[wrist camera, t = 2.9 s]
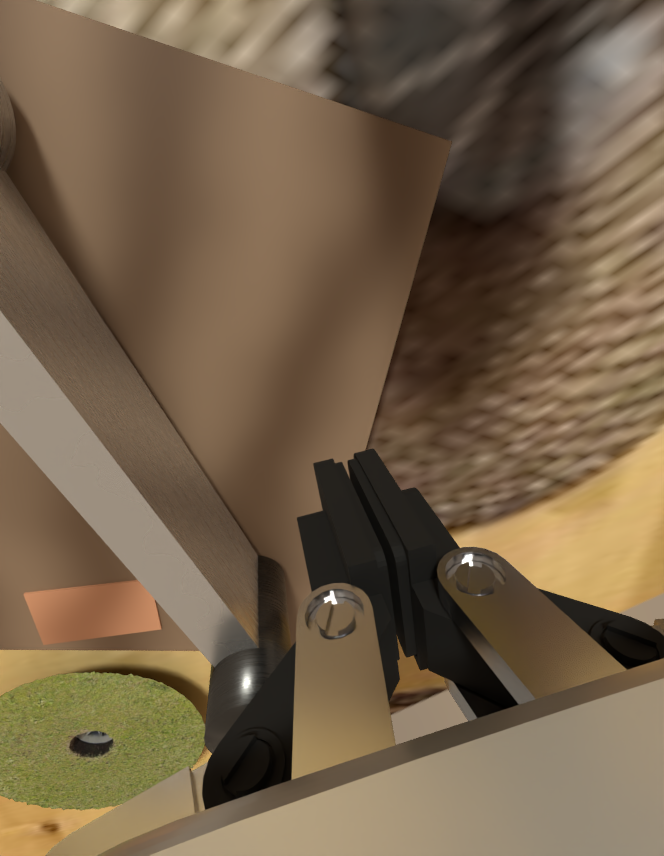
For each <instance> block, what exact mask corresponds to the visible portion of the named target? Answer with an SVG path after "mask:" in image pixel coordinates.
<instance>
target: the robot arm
mask: <svg viewBox="0 0 664 856" xmlns="http://www.w3.org/2000/svg"><path fill="white" fill-rule="evenodd" d="M347 463H348V470H349V476H350V478H349V476H348V474H347V471H346V469H345V467H344V465H343V463H342V462H338V463H335V462H334V460H333V458H332V459H328V460H324V461H320V462H316V463H313V466H314V471H315V476H316V481H317V486H318V490H319V495H320V500H321V505H322V510H323V511H319V512H315V513H312V514H308V515H304V516H300V517H297V522H298V527H299V532H300V537H301V542H302V547H303V552H304V557H305V562H306V566H307V571H308V576H309V581H310V586H311V591H312V592H311V593H310V594H309V595H308V596H307V597H306V598H305V599H304V600H303V602H302V604H301V606H300V607H299V610H298V615H297V624H296V642H295V643H294V644H293V646H292V647H291V648H290V650H289V651H288V652H287V654H286V655H285V656H284V658H283V659H282V660H281V662H280V663H279V664H278V666H277V667H276V668H275V670H274V671H273V672H272V674H271V675H270V676H269V678H268V679H267V680H266V682H265V683H264V684H263V686H262V687H261V688H260V690H259V691H258V692H257V693H256V695H255V696H254V697H253V699H252V700H251V701H250V703H249V704H248V705H247V707H246V708H245V709H244V711H243V712H242V713H241V715H240V716H239V717H238V719H237V720H236V721H235V723H234V724H233V725H232V727H231V728H230V729H229V731H228V732H227V733H226V735H225V736H224V737H223V739H222V740H221V741H220V743H219V744H218V745H217V747H216V749H215V750H214V752H213V754H212V755H211V757H210V759H209V761H208V762H207V763H205V764H204V765H202V766H200V767H199V768H197V769H195V770H193V771H191V769H190V767H189V766H187V767H186V768H184V769H182V770H181V771H179V772H177V773H175V774H174V775H172V776H170V777H168V778H167V779H165V780H163V781H161V782H160V783H158V784H156V785H154V786H153V787H151V788H149V789H148V790H146V791H144V792H142V793H141V794H139V795H137V796H135V797H134V798H132V799H130V800H128V801H127V802H125V803H123V804H122V805H120V806H118V807H116V808H115V809H113V810H111V811H109V812H108V813H106V814H104V815H102V816H101V817H99V818H97V819H95V820H94V821H92V822H90V823H89V824H87V825H85V826H83V827H82V828H80V829H78V830H76V831H75V832H73V833H71V834H69V835H68V836H67V837H66V838H64V839H63V840H62V841H60V842H59V843H58V844H57V845H55V846H54V847H53V848H52V849H51V850H50V851H49V852H48V853H47V854H46V856H664V619H656V620H655V621H654V625H653V626H649V625H648V624H646V623H644V622H642V621H639V620H637V619H634V618H632V617H629V616H626V615H622V614H619V613H616V612H613V611H610V610H606V609H603V608H600V607H596V606H593V605H590V604H587V603H583V602H580V601H577V600H574V599H570V598H567V597H564V596H561V595H557V594H554V593H551V592H548V591H544V590H541V589H538V588H536V587H535V586H534V585H533V584H532V583H531V582H529V581H528V580H527V579H526V578H525V577H524V576H523V575H522V574H521V573H520V572H518V571H517V570H516V569H515V568H514V567H513V566H512V565H511V564H510V563H509V562H507V561H506V560H505V559H504V558H502V557H501V556H499V555H498V554H497V553H494V552H492V551H489V550H487V549H483V548H477V547H462V548H459V546H458V545H457V543H456V542H455V541H454V539H453V538H452V536H451V535H450V534H449V532H448V531H447V530H446V528H445V527H444V525H443V524H442V523H441V521H440V520H439V518H438V517H437V516H436V514H435V513H434V511H433V510H432V509H431V507H430V506H429V505H428V503H427V502H426V500H425V499H424V498H423V496H422V495H421V493H420V492H419V491H418V490H417V489H416V488H410V489H406V490H402V491H401V490H400V488H399V486H398V485H397V483H396V482H395V480H394V479H393V477H392V476H391V474H390V473H389V471H388V470H387V468H386V466H385V465H384V463H383V462H382V460H381V459H380V457H379V456H378V454H377V453H376V451H375V450H374V449H370V450H366V451H361V452H357V453H354V459H351V460H348V461H347ZM396 634H397V635H396ZM397 637H398V639H399V642H400V644H401V647H402V649H403V652H404V654H405V656H406V657H410V656H413V655H414V657H415V659H416V662H417V664H418V666H419V669H420V670H424V669H427V668H428V669H429V670H430V671H432V672H434V673H436V674H438V675H440V676H442V677H444V680H445V683H446V686H447V688H448V690H449V692H450V693H451V695H452V697H453V698H454V700H455V701H456V703H457V704H458V706H459V707H460V709H461V711H462V712H463V714H464V715H465V717H466V718H467V720H468V722H465V723H462V724H459V725H456V726H453V727H450V728H447V729H443V730H440V731H437V732H434V733H432V734H428V735H425V736H423V737H419V738H416V739H413V740H410V741H407V742H404V743H401V744H398V745H396V744H395V738H394V733H393V726H392V721H391V714H390V708H389V700H390V698H391V696H392V694H393V692H394V690H395V688H396V686H397V684H398V682H399V680H400V677H399V670H398V662H397V660H399V659H400V658H399V650H398V642H397Z"/></svg>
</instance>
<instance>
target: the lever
mask: <svg viewBox="0 0 664 856" xmlns="http://www.w3.org/2000/svg"><path fill="white" fill-rule="evenodd" d="M15 144H16V125H15V118H14V113H13V108H12V105H11V102H10V99H9V96H8V94H7V91H6V89H5V87H4V84H3V82H2V81H1V79H0V423H1V424H2V426H3V427H4V428H5V429H6V430H7V431H8V432H9V434H10V435H11V436H12V437H13V438H14V439H15V440H16V442H17V443H18V444H19V445H20V446H21V447H22V448H23V449H24V451H25V452H26V453H27V454H28V455H29V456H30V457H31V459H32V460H33V461H34V462H35V463H36V464H37V465H38V467H39V468H40V469H41V470H42V471H43V472H44V473H45V475H46V476H47V477H48V478H49V479H50V480H51V481H52V483H53V484H54V485H55V486H56V487H57V488H58V489H59V491H60V492H61V493H62V494H63V495H64V496H65V497H66V499H67V500H68V501H69V502H70V503H71V504H72V505H73V507H74V508H75V509H76V510H77V511H78V512H79V513H80V515H81V516H82V517H83V518H84V519H85V520H86V521H87V523H88V524H89V525H90V526H91V527H92V528H93V529H94V531H95V532H96V533H97V534H98V535H99V536H100V537H101V539H102V540H103V541H104V542H105V543H106V544H107V545H108V547H109V548H110V549H111V550H112V551H113V552H114V553H115V555H116V556H117V557H118V558H119V559H120V560H121V561H122V563H123V564H124V565H125V566H126V567H127V568H128V569H129V570H130V572H131V573H132V574H133V575H134V576H135V577H136V578H137V580H138V581H139V582H140V583H141V584H142V585H143V586H144V588H145V589H146V590H147V591H148V592H149V593H150V594H151V596H152V597H153V598H154V599H155V600H156V601H157V602H158V604H159V605H160V606H161V607H162V608H163V609H164V610H165V612H166V613H167V614H168V615H169V616H170V617H171V618H172V620H173V621H174V622H175V623H176V624H177V625H178V626H179V628H180V629H181V630H182V631H183V632H184V633H185V634H186V636H187V637H188V638H189V639H190V640H191V641H192V642H193V644H194V645H195V646H196V647H197V648H198V649H199V650H200V652H201V653H202V654H203V655H204V656H205V657H206V658H207V660H208V661H209V662H210V663H211V664H212V665H211V675H210V685H209V695H208V705H207V715H206V725H205V734H204V742H205V745H206V747H207V749H208V750H209V751H210V752H211V753H212V754H213V752H214V750H215V749H216V747H217V745H218V744H219V743H220V741H221V740H222V739H223V737H224V736H225V735H226V733H227V732H228V731H229V729H230V728H231V727H232V725H233V724H234V723H235V721H236V720H237V719H238V717H239V716H240V715H241V713H242V712H243V711H244V709H245V708H246V707H247V705H248V704H249V703H250V701H251V700H252V699H253V697H254V696H255V695H256V693H257V692H258V691H259V690H260V688H261V687H262V686H263V684H264V683H265V682H266V680H267V679H268V678H269V676H270V675H271V674H272V672H273V671H274V670H275V668H276V667H277V666H278V664H279V663H280V662H281V660H282V659H283V658H284V656H285V655H286V654H287V652H288V651H289V650H290V648H291V638H290V627H289V616H288V605H287V594H286V583H285V574H284V571H283V569H282V567H281V566H280V564H279V563H278V562H276V561H275V560H273V559H271V558H269V557H266V556H261V555H257V553H256V552H255V550H254V549H253V547H252V546H251V544H250V543H249V541H248V540H247V538H246V537H245V535H244V534H243V532H242V530H241V529H240V527H239V526H238V524H237V523H236V521H235V520H234V518H233V517H232V515H231V514H230V512H229V511H228V509H227V508H226V506H225V505H224V503H223V502H222V500H221V499H220V497H219V495H218V494H217V492H216V491H215V489H214V488H213V486H212V485H211V483H210V482H209V480H208V479H207V477H206V476H205V474H204V473H203V471H202V470H201V468H200V467H199V465H198V464H197V462H196V461H195V459H194V457H193V456H192V454H191V453H190V451H189V450H188V448H187V447H186V445H185V444H184V442H183V441H182V439H181V438H180V436H179V435H178V433H177V432H176V430H175V429H174V427H173V426H172V424H171V422H170V421H169V419H168V418H167V416H166V415H165V413H164V412H163V410H162V409H161V407H160V406H159V404H158V403H157V401H156V400H155V398H154V397H153V395H152V394H151V392H150V391H149V389H148V387H147V386H146V384H145V383H144V381H143V380H142V378H141V377H140V375H139V374H138V372H137V371H136V369H135V368H134V366H133V365H132V363H131V362H130V360H129V359H128V357H127V356H126V354H125V353H124V351H123V349H122V348H121V346H120V345H119V343H118V342H117V340H116V339H115V337H114V336H113V334H112V333H111V331H110V330H109V328H108V327H107V325H106V324H105V322H104V321H103V319H102V318H101V316H100V314H99V313H98V311H97V310H96V308H95V307H94V305H93V304H92V302H91V301H90V299H89V298H88V296H87V295H86V293H85V292H84V290H83V289H82V287H81V286H80V284H79V283H78V281H77V279H76V278H75V276H74V275H73V273H72V272H71V270H70V269H69V267H68V266H67V264H66V263H65V261H64V260H63V258H62V257H61V255H60V254H59V252H58V251H57V249H56V248H55V246H54V244H53V243H52V241H51V240H50V238H49V237H48V235H47V234H46V232H45V231H44V229H43V228H42V226H41V225H40V223H39V222H38V220H37V219H36V217H35V216H34V214H33V213H32V211H31V210H30V208H29V206H28V205H27V203H26V202H25V200H24V199H23V197H22V196H21V194H20V193H19V191H18V190H17V188H16V187H15V185H14V184H13V182H12V181H11V179H10V178H9V176H8V175H7V173H6V170H7V169H8V167H9V165H10V163H11V160H12V158H13V154H14V150H15Z"/></svg>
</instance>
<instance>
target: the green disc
mask: <svg viewBox="0 0 664 856" xmlns="http://www.w3.org/2000/svg"><path fill="white" fill-rule="evenodd" d="M204 734H205V724H204V722H203V720H202V716H201V715H200V714H199V712H198V710H196V707H195V706H194V705H193V704H192V703H191V702H190V701H189V700H188V699H187V698H186V697H185V696H184V695H182V694H180V693H179V692H177V691H176V690H174V689H173V688H171V687H169V686H167V685H165V684H163V683H162V682H160V683H158V682H157V681H155V680H153V679H150V678H142V677H140V676H134V675H132V674H129V675H121V674H119V673H116V674H114V673H109V674H108V673H102V674H101V673H98V672H97V673H95V672H94V671H93V672H91V673H88V672H85V673H77V672H76V673H68V674H58V675H56V676H51V677H47V678H45V679H41V680H35V681H34V682H31V683H27V684H23V685H21V686H19V687H17V688H15V689H13V690H11V691H9V692H6V693H5V694H3V695H2V696H0V796H4V797H6V798H8V799H11V798H12V799H13V800H14V801H16V802H18V801H21V802H27V805H30V804H33V805H39V806H41V807H44V808H48V807H50V808H51V809H56V808H62V809H63V810H65V809H80V810H85V809H92V808H94V809H100V808H105V807H109V806H117V805H120V804H123V803H125V802H127V801H128V800H130V799H132V798H134V797H135V796H137V795H139V794H141V793H142V792H144V791H146V790H148V789H149V788H151V787H153V786H154V785H156V784H158V783H160V782H161V781H163V780H165V779H167V778H168V777H170V776H172V775H174V774H175V773H177V772H179V771H181V770H182V769H184V768H186V767H187V766H189V767H190V768H193V765H194V764H195V763H196V762H197V760H198V759H199V757H200V755H201V753H202V751H203V748H204V745H205V742H204Z"/></svg>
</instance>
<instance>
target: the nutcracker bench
mask: <svg viewBox="0 0 664 856" xmlns="http://www.w3.org/2000/svg"><path fill="white" fill-rule="evenodd" d="M0 79H1V81H2V82H3V84H4V87H5V89H6V91H7V94H8V96H9V99H10V102H11V105H12V108H13V113H14V118H15V125H16V144H15V150H14V154H13V158H12V160H11V163H10V165H9V167H8V169H7V170H6V173H7V175H8V176H9V178H10V179H11V181H12V182H13V184H14V185H15V187H16V188H17V190H18V191H19V193H20V194H21V196H22V197H23V199H24V200H25V202H26V203H27V205H28V206H29V208H30V210H31V211H32V213H33V214H34V216H35V217H36V219H37V220H38V222H39V223H40V225H41V226H42V228H43V229H44V231H45V232H46V234H47V235H48V237H49V238H50V240H51V241H52V243H53V244H54V246H55V248H56V249H57V251H58V252H59V254H60V255H61V257H62V258H63V260H64V261H65V263H66V264H67V266H68V267H69V269H70V270H71V272H72V273H73V275H74V276H75V278H76V279H77V281H78V283H79V284H80V286H81V287H82V289H83V290H84V292H85V293H86V295H87V296H88V298H89V299H90V301H91V302H92V304H93V305H94V307H95V308H96V310H97V311H98V313H99V314H100V316H101V318H102V319H103V321H104V322H105V324H106V325H107V327H108V328H109V330H110V331H111V333H112V334H113V336H114V337H115V339H116V340H117V342H118V343H119V345H120V346H121V348H122V349H123V351H124V353H125V354H126V356H127V357H128V359H129V360H130V362H131V363H132V365H133V366H134V368H135V369H136V371H137V372H138V374H139V375H140V377H141V378H142V380H143V381H144V383H145V384H146V386H147V387H148V389H149V391H150V392H151V394H152V395H153V397H154V398H155V400H156V401H157V403H158V404H159V406H160V407H161V409H162V410H163V412H164V413H165V415H166V416H167V418H168V419H169V421H170V422H171V424H172V426H173V427H174V429H175V430H176V432H177V433H178V435H179V436H180V438H181V439H182V441H183V442H184V444H185V445H186V447H187V448H188V450H189V451H190V453H191V454H192V456H193V457H194V459H195V461H196V462H197V464H198V465H199V467H200V468H201V470H202V471H203V473H204V474H205V476H206V477H207V479H208V480H209V482H210V483H211V485H212V486H213V488H214V489H215V491H216V492H217V494H218V495H219V497H220V499H221V500H222V502H223V503H224V505H225V506H226V508H227V509H228V511H229V512H230V514H231V515H232V517H233V518H234V520H235V521H236V523H237V524H238V526H239V527H240V529H241V530H242V532H243V534H244V535H245V537H246V538H247V540H248V541H249V543H250V544H251V546H252V547H253V549H254V550H255V552H256V553H257V555H261V556H266V557H269V558H271V559H273V560H275V561H276V562H278V563H279V564H280V566H281V567H282V569H283V571H284V574H285V583H286V594H287V605H288V616H289V627H290V638H291V647H292V646H293V644H294V643H295V642H296V624H297V615H298V610H299V607H300V606H301V604H302V602H303V600H304V599H305V598H306V597H307V596H308V595H309V594H310V593H311V592H312V591H311V586H310V581H309V576H308V571H307V566H306V562H305V557H304V552H303V547H302V542H301V537H300V532H299V527H298V522H297V517H300V516H304V515H308V514H312V513H315V512H319V511H323V510H322V505H321V500H320V495H319V490H318V486H317V481H316V476H315V471H314V466H313V463H316V462H320V461H324V460H328V459H332V458H333V460H334V462H335V463H338V462H342V463H343V465H344V467H345V469H346V471H347V474H348V476H349V470H348V463H347V461H348V460H351V459H354V453H357V452H361V451H365V450H366V446H367V443H368V439H369V436H370V432H371V428H372V425H373V421H374V418H375V414H376V411H377V407H378V404H379V400H380V396H381V393H382V389H383V386H384V382H385V379H386V375H387V372H388V368H389V365H390V361H391V357H392V354H393V350H394V347H395V343H396V340H397V336H398V333H399V329H400V325H401V322H402V318H403V315H404V311H405V308H406V304H407V301H408V297H409V293H410V290H411V286H412V283H413V279H414V276H415V272H416V269H417V265H418V261H419V258H420V254H421V251H422V247H423V244H424V240H425V237H426V233H427V229H428V226H429V222H430V219H431V215H432V212H433V208H434V205H435V201H436V197H437V194H438V190H439V187H440V183H441V180H442V176H443V173H444V169H445V165H446V162H447V158H448V155H449V151H450V148H451V144H452V141H449V140H446V139H443V138H440V137H437V136H434V135H431V134H428V133H425V132H423V131H420V130H417V129H414V128H411V127H408V126H405V125H402V124H399V123H396V122H393V121H390V120H387V119H384V118H381V117H378V116H375V115H372V114H369V113H366V112H363V111H361V110H358V109H355V108H352V107H349V106H346V105H343V104H340V103H337V102H334V101H331V100H328V99H325V98H322V97H319V96H316V95H313V94H310V93H307V92H304V91H302V90H299V89H296V88H293V87H290V86H287V85H284V84H281V83H278V82H275V81H272V80H269V79H266V78H263V77H260V76H257V75H254V74H251V73H248V72H245V71H243V70H240V69H237V68H234V67H231V66H228V65H225V64H222V63H219V62H216V61H213V60H210V59H207V58H204V57H201V56H198V55H195V54H192V53H189V52H186V51H184V50H181V49H178V48H175V47H172V46H169V45H166V44H163V43H160V42H157V41H154V40H151V39H148V38H145V37H142V36H139V35H136V34H133V33H130V32H127V31H125V30H122V29H119V28H116V27H113V26H110V25H107V24H104V23H101V22H98V21H95V20H92V19H89V18H86V17H83V16H80V15H77V14H74V13H71V12H68V11H66V10H63V9H60V8H57V7H54V6H51V5H48V4H45V3H42V2H39V1H36V0H0ZM349 478H350V476H349ZM0 650H160V651H200V650H199V649H198V648H197V647H196V646H195V645H194V644H193V642H192V641H191V640H190V639H189V638H188V637H187V636H186V634H185V633H184V632H183V631H182V630H181V629H180V628H179V626H178V625H177V624H176V623H175V622H174V621H173V620H172V618H171V617H170V616H169V615H168V614H167V613H166V612H165V610H164V609H163V608H162V607H161V606H160V605H159V604H158V602H157V601H156V600H155V599H154V598H153V597H152V596H151V594H150V593H149V592H148V591H147V590H146V589H145V588H144V586H143V585H142V584H141V583H140V582H139V581H138V580H137V578H136V577H135V576H134V575H133V574H132V573H131V572H130V570H129V569H128V568H127V567H126V566H125V565H124V564H123V563H122V561H121V560H120V559H119V558H118V557H117V556H116V555H115V553H114V552H113V551H112V550H111V549H110V548H109V547H108V545H107V544H106V543H105V542H104V541H103V540H102V539H101V537H100V536H99V535H98V534H97V533H96V532H95V531H94V529H93V528H92V527H91V526H90V525H89V524H88V523H87V521H86V520H85V519H84V518H83V517H82V516H81V515H80V513H79V512H78V511H77V510H76V509H75V508H74V507H73V505H72V504H71V503H70V502H69V501H68V500H67V499H66V497H65V496H64V495H63V494H62V493H61V492H60V491H59V489H58V488H57V487H56V486H55V485H54V484H53V483H52V481H51V480H50V479H49V478H48V477H47V476H46V475H45V473H44V472H43V471H42V470H41V469H40V468H39V467H38V465H37V464H36V463H35V462H34V461H33V460H32V459H31V457H30V456H29V455H28V454H27V453H26V452H25V451H24V449H23V448H22V447H21V446H20V445H19V444H18V443H17V442H16V440H15V439H14V438H13V437H12V436H11V435H10V434H9V432H8V431H7V430H6V429H5V428H4V427H3V426H2V424H1V423H0Z"/></svg>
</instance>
